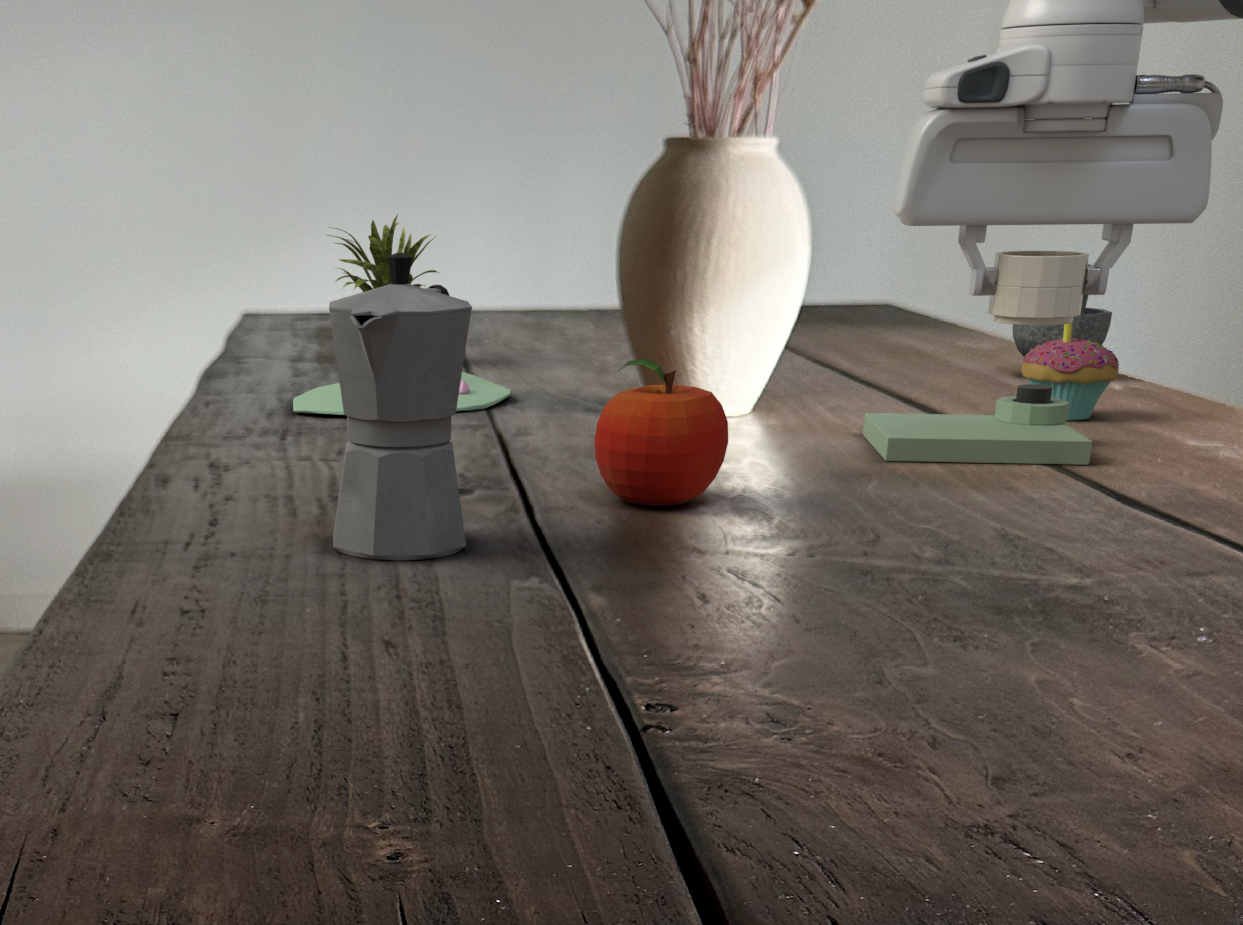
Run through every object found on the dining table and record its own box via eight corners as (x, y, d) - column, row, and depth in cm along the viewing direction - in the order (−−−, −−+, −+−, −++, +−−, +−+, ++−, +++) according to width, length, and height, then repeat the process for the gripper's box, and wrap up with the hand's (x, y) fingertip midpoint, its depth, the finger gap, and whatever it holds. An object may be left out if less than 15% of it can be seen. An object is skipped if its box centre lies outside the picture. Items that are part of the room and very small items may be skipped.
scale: (1052, 437, 149) (1059, 396, 148) (1093, 465, 137) (1100, 420, 136) (861, 434, 151) (866, 393, 150) (885, 461, 139) (890, 417, 137)
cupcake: (1081, 426, 154) (1103, 287, 150) (995, 416, 160) (1014, 281, 155) (1127, 416, 160) (1150, 281, 155) (1042, 406, 165) (1062, 276, 161)
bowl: (1065, 316, 122) (1075, 250, 120) (1088, 325, 117) (1099, 256, 115) (979, 317, 123) (987, 250, 121) (998, 326, 117) (1007, 256, 115)
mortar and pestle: (997, 370, 190) (1013, 256, 185) (1083, 370, 189) (1102, 256, 185) (1023, 384, 180) (1041, 263, 175) (1114, 385, 179) (1135, 264, 174)
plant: (441, 426, 155) (442, 323, 151) (244, 411, 163) (241, 313, 160) (539, 391, 176) (543, 299, 172) (360, 379, 184) (360, 291, 180)
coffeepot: (432, 574, 104) (436, 262, 97) (292, 561, 107) (285, 258, 100) (507, 523, 117) (515, 245, 110) (380, 513, 121) (380, 242, 113)
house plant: (316, 357, 202) (313, 209, 196) (431, 355, 204) (432, 208, 197) (326, 372, 189) (324, 215, 183) (449, 370, 191) (451, 214, 184)
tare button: (1045, 402, 147) (1048, 384, 146) (1053, 407, 144) (1056, 389, 144) (1011, 402, 147) (1014, 384, 146) (1019, 407, 145) (1021, 388, 144)
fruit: (711, 519, 118) (723, 370, 114) (577, 509, 122) (584, 364, 118) (734, 493, 127) (745, 354, 123) (607, 485, 130) (615, 349, 126)
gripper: (1211, 74, 115) (1176, 289, 121) (901, 80, 117) (880, 291, 123) (1245, 72, 109) (1206, 298, 115) (918, 78, 112) (895, 299, 117)
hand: (1035, 294), depth 119 cm, fingers closed on bowl, 6 cm apart
